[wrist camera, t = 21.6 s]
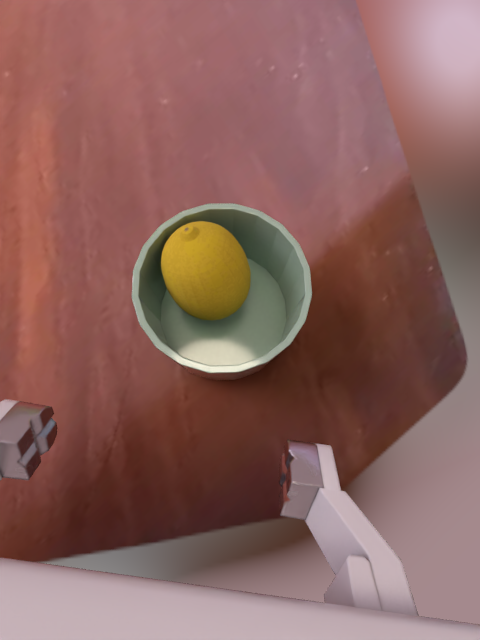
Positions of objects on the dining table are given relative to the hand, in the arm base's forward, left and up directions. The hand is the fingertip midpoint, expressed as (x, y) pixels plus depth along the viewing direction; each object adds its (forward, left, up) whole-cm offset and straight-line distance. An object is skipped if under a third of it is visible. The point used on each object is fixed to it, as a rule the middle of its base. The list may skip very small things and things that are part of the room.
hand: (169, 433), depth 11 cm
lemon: (+8, -2, -12) cm, 14 cm away
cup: (+8, -2, -13) cm, 15 cm away
